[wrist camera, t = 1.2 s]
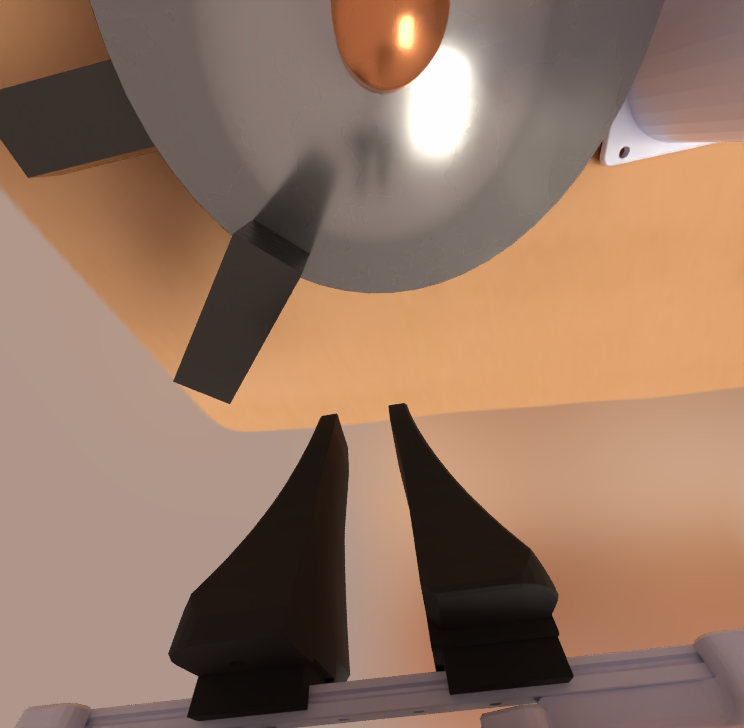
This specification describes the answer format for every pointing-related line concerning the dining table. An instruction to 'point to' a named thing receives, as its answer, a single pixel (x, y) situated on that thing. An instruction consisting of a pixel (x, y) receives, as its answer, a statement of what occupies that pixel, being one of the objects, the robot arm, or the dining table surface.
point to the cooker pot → (71, 122)
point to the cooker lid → (365, 136)
